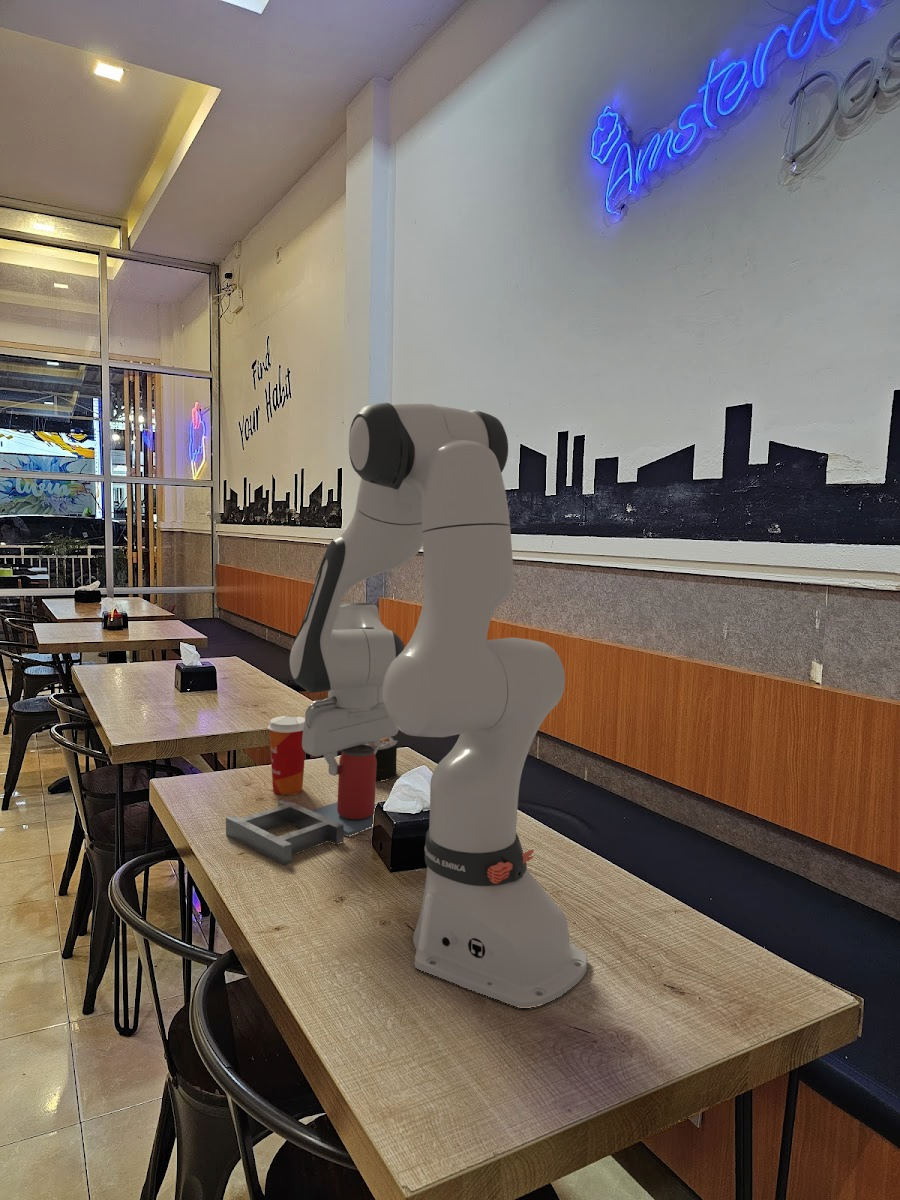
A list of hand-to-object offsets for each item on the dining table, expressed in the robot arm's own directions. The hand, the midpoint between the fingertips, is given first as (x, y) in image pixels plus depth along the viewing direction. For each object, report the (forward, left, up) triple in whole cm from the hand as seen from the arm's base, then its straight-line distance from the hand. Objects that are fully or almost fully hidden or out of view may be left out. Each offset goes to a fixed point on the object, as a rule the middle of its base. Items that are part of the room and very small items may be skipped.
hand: (352, 769), depth 138 cm
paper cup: (+19, 0, -9) cm, 21 cm away
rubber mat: (0, 0, -9) cm, 9 cm away
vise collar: (+1, +14, -9) cm, 17 cm away
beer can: (-1, 0, -8) cm, 8 cm away
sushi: (+14, -19, -9) cm, 25 cm away
